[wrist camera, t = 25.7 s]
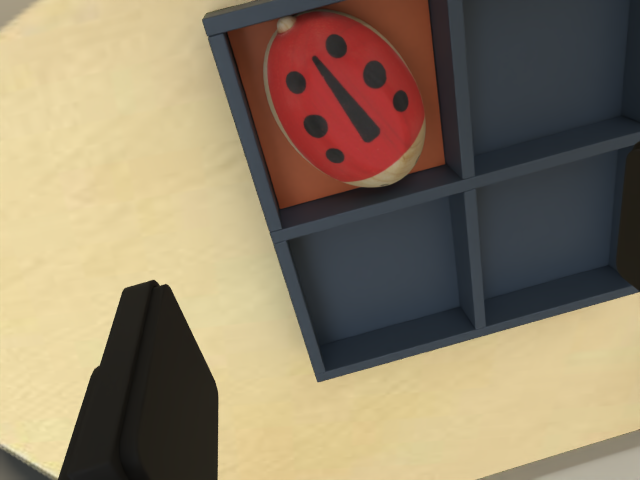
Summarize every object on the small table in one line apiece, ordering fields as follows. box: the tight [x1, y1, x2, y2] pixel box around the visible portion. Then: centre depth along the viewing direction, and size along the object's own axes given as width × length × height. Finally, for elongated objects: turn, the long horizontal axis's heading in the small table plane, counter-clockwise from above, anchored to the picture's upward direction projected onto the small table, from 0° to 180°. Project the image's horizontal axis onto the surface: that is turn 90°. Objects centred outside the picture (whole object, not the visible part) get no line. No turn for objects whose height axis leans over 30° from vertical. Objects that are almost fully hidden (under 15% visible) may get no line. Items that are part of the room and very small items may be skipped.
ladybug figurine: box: [263, 9, 426, 187], centre depth 23 cm, size 7×10×4 cm
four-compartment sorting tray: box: [202, 0, 640, 382], centre depth 27 cm, size 21×21×3 cm
